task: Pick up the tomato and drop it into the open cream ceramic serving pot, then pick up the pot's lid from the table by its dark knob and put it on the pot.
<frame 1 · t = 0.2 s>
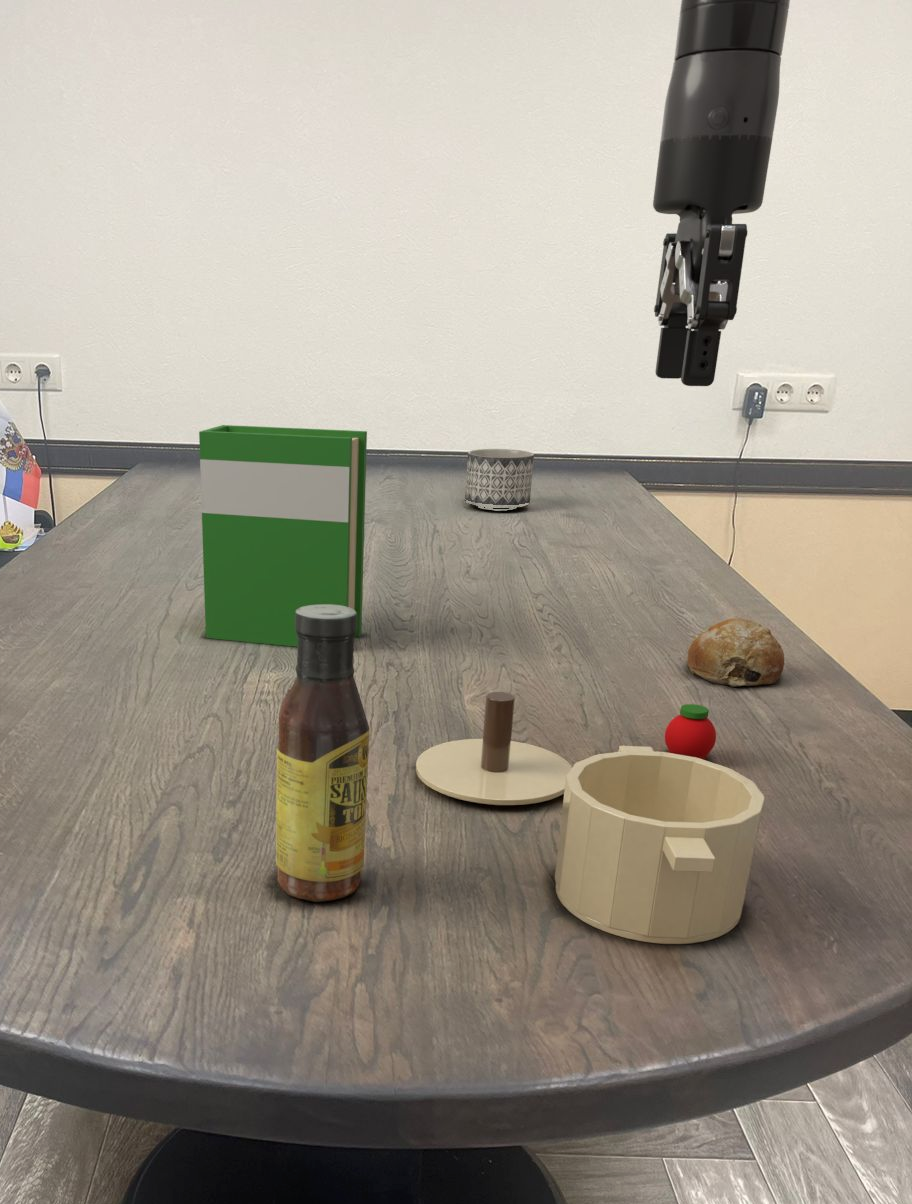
hand: (682, 381, 85), 32 cm above the table, tool pointing down, fingers open, 8 cm apart
planter: (496, 509, 218), on the table
sauce bottle: (320, 886, 79), on the table
hardback book: (284, 637, 136), on the table
pot: (646, 896, 78), on the table
tomato: (686, 759, 101), on the table
bread roll: (729, 675, 124), on the table
lid: (494, 772, 96), point 1 cm above the table
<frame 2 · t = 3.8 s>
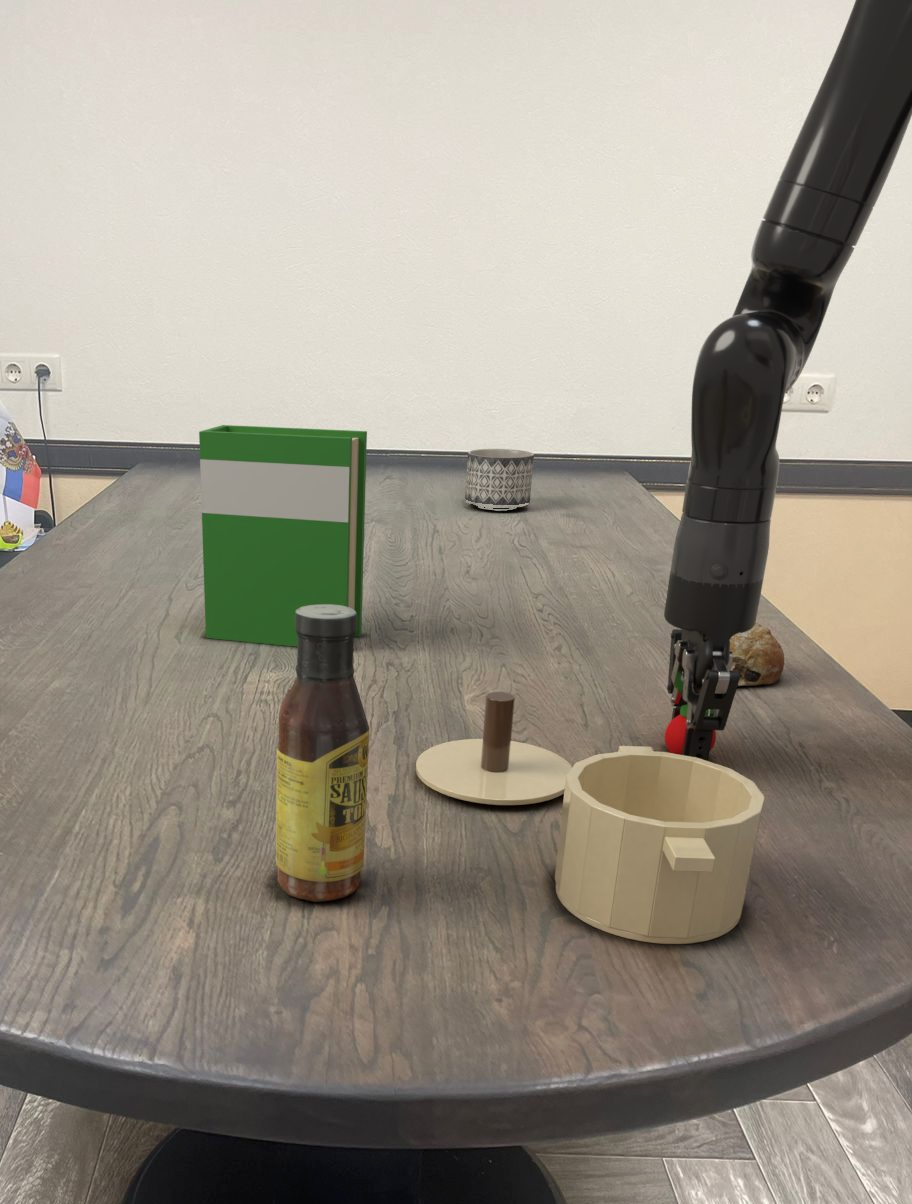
hand: (686, 755, 101), 0 cm above the table, tool pointing down, fingers closed on tomato, 4 cm apart
tomato: (686, 759, 101), on the table, touching gripper
everything else where it was.
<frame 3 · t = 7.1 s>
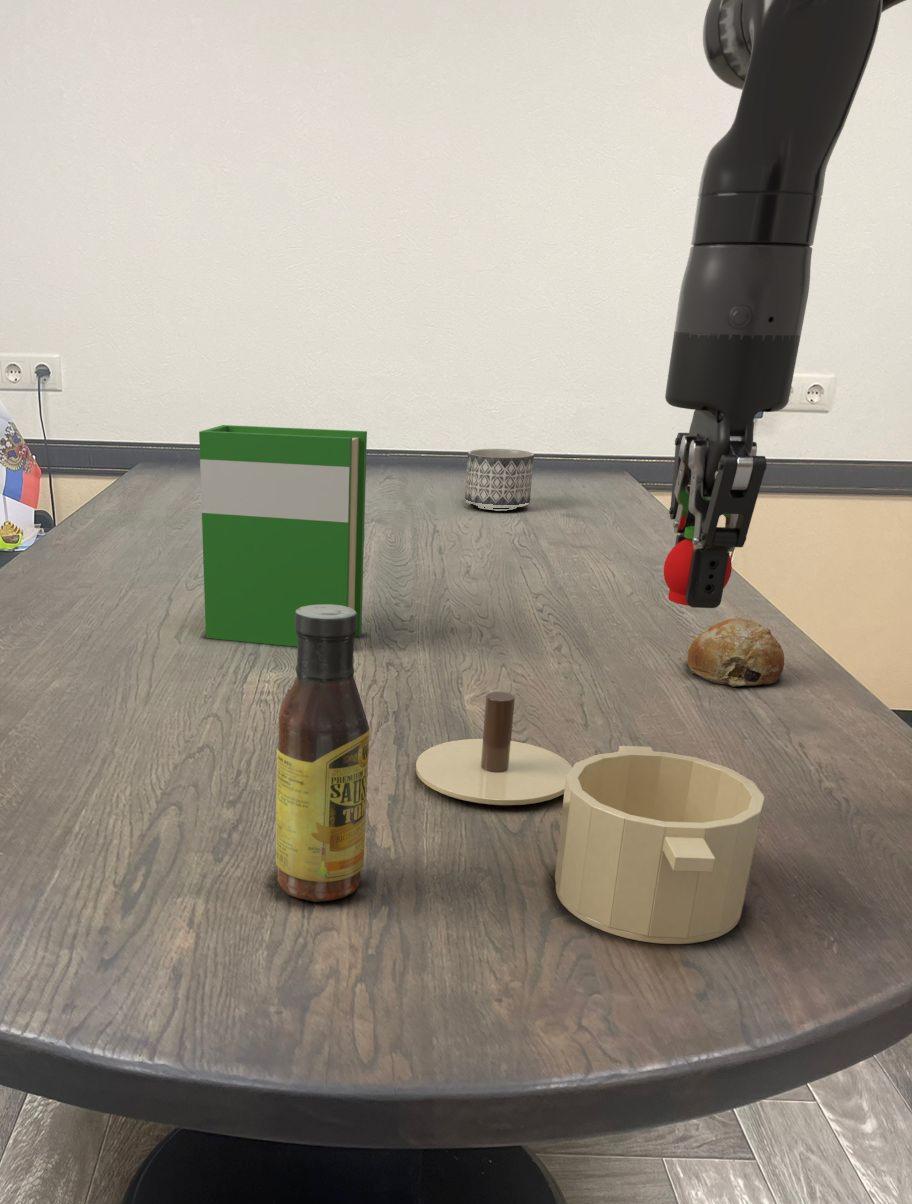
hand: (693, 596, 76), 20 cm above the table, tool pointing down, fingers closed on tomato, 4 cm apart
tomato: (692, 600, 76), point 19 cm above the table, touching gripper
everything else where it was.
when the fingers open (7 cm above the table, at t = 10.8 s): tomato drops 6 cm, resting on pot.
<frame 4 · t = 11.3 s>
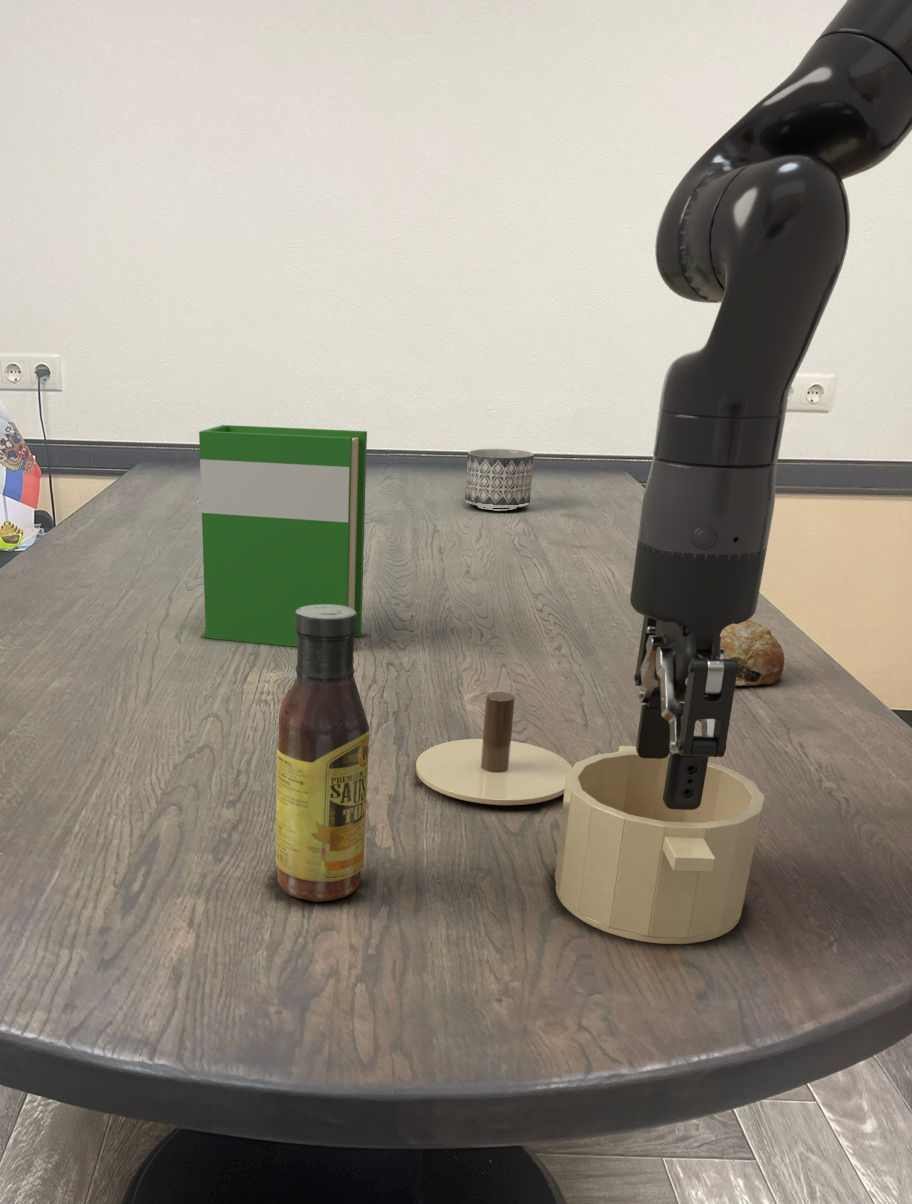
hand: (665, 780, 74), 9 cm above the table, tool pointing down, fingers open, 8 cm apart
tomato: (646, 890, 77), resting on pot
everything else where it was.
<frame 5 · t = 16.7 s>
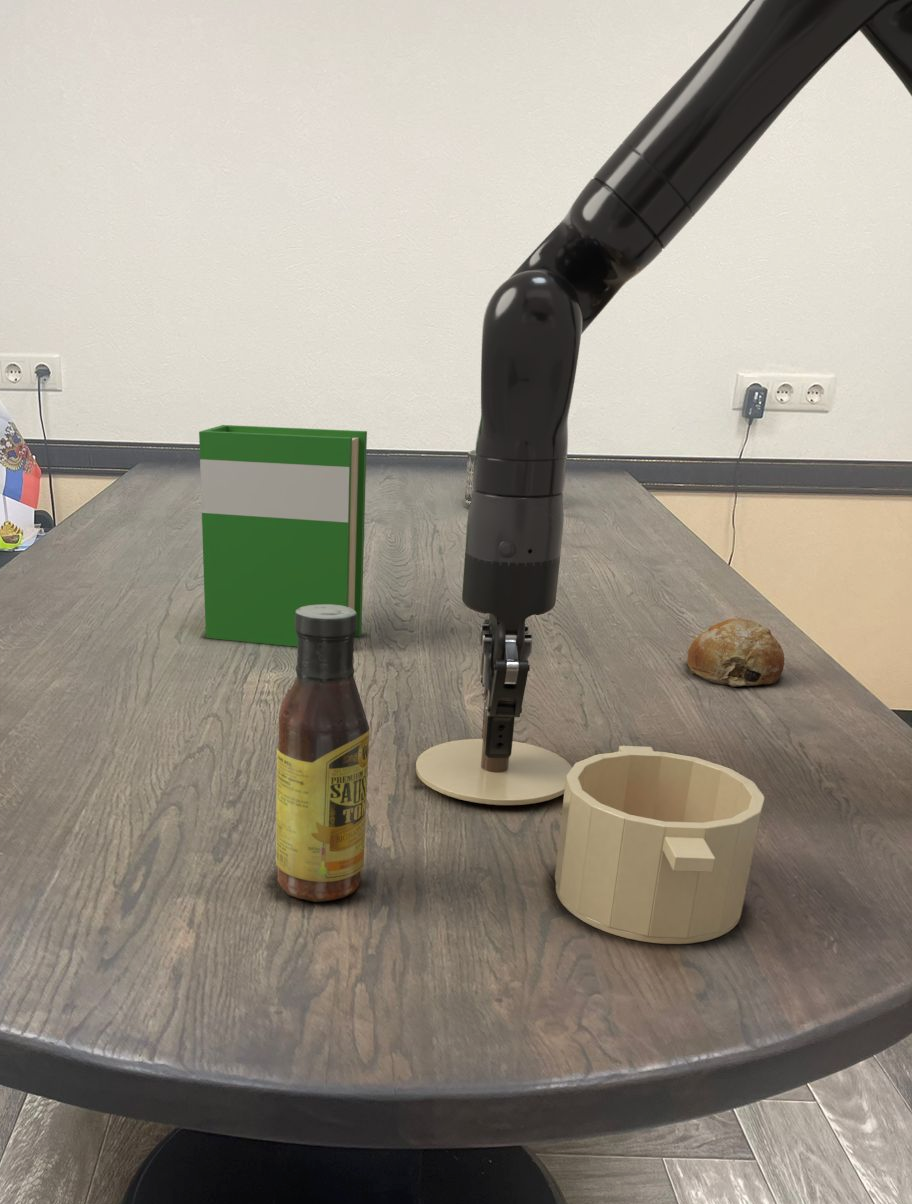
hand: (495, 748, 95), 3 cm above the table, tool pointing down, fingers closed on lid, 2 cm apart
lid: (494, 772, 96), point 1 cm above the table, touching gripper
everything else where it was.
when the fingers open (11 cm above the table, at t = 24.0 s): lid stays where it is, resting on pot.
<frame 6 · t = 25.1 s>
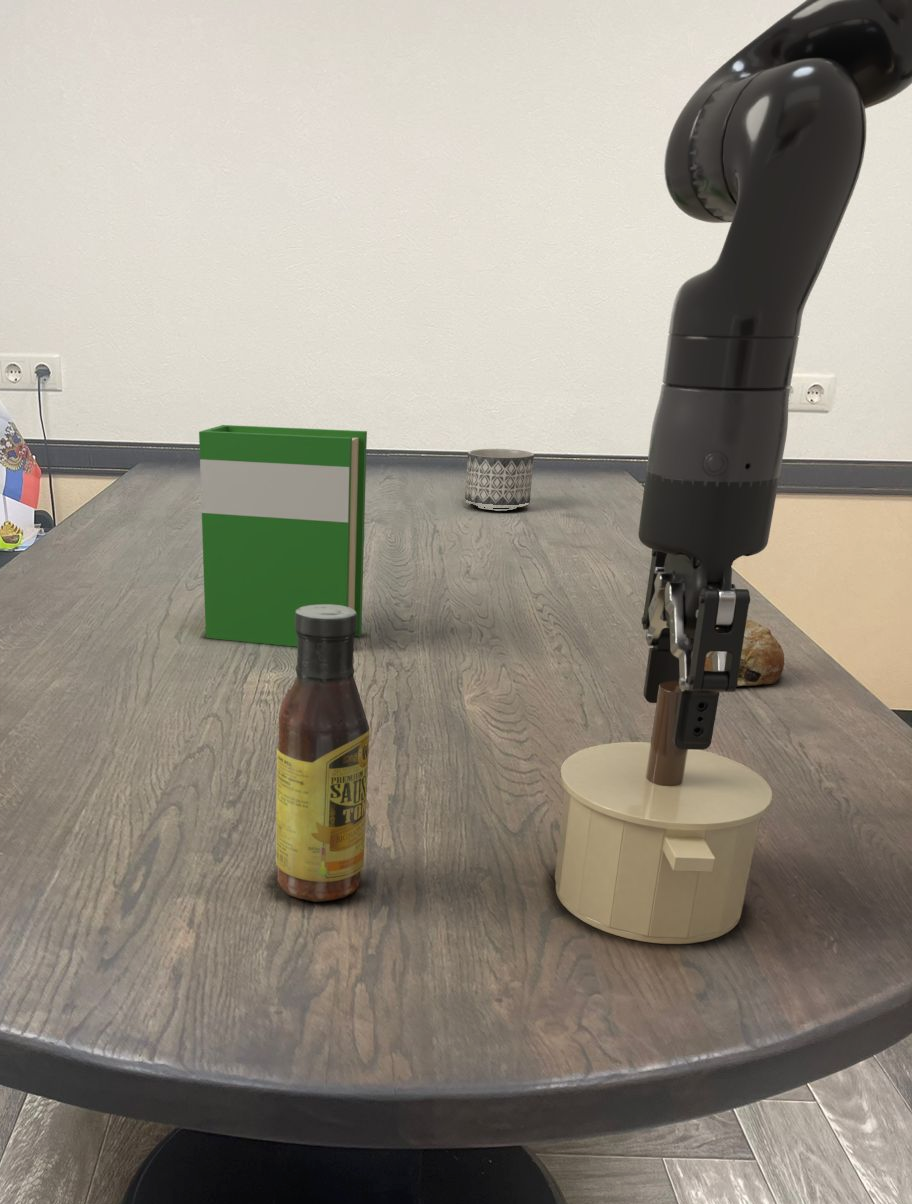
hand: (674, 723, 72), 13 cm above the table, tool pointing down, fingers open, 8 cm apart
lid: (663, 786, 74), point 8 cm above the table, touching pot
everything else where it was.
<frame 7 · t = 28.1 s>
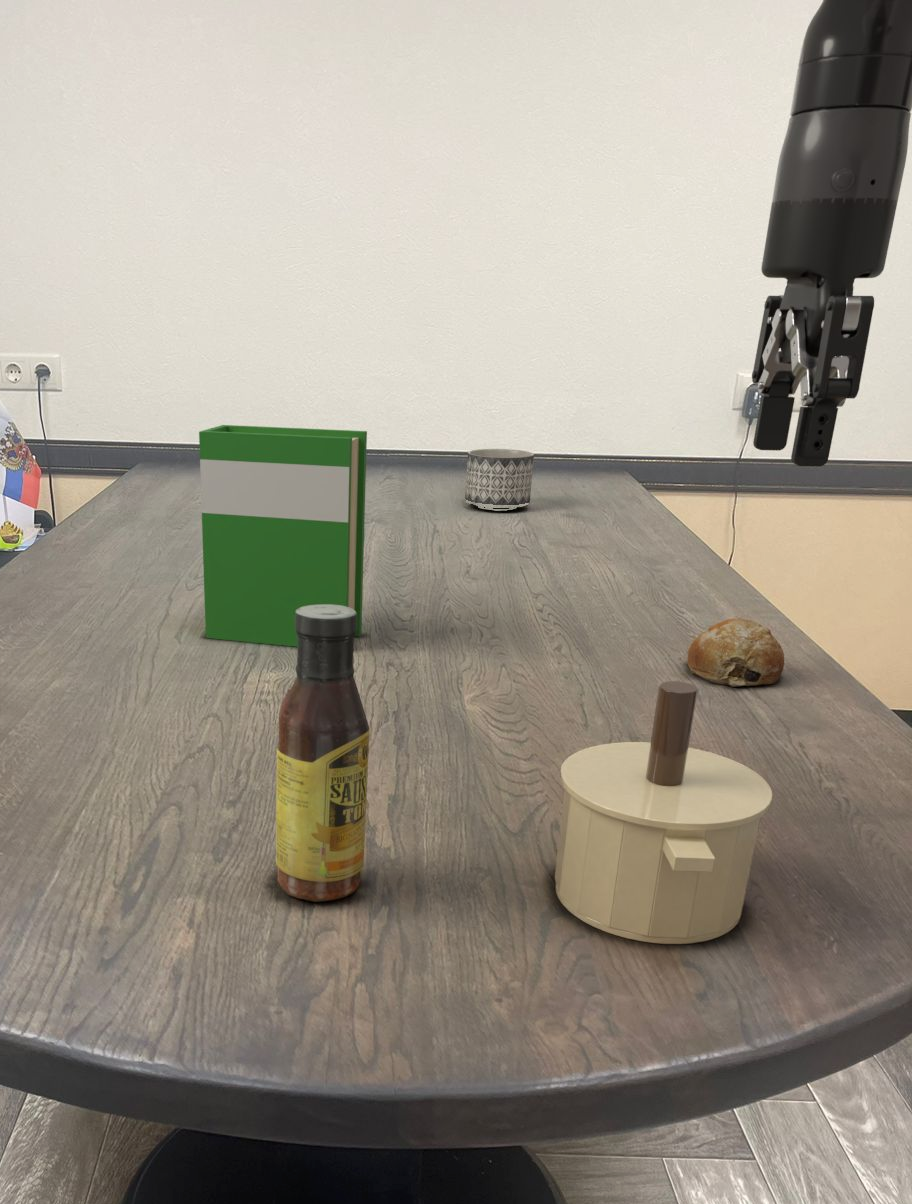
hand: (787, 457, 78), 28 cm above the table, tool pointing down, fingers open, 8 cm apart
nothing on the table moved.
at the end: tomato inside the target area in the pot (0.0 cm from its centre), point 0.5 cm above the pot's base; lid 0.0 cm off-centre on the pot, point 8.5 cm above the pot's base; lid tilted 0° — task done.
